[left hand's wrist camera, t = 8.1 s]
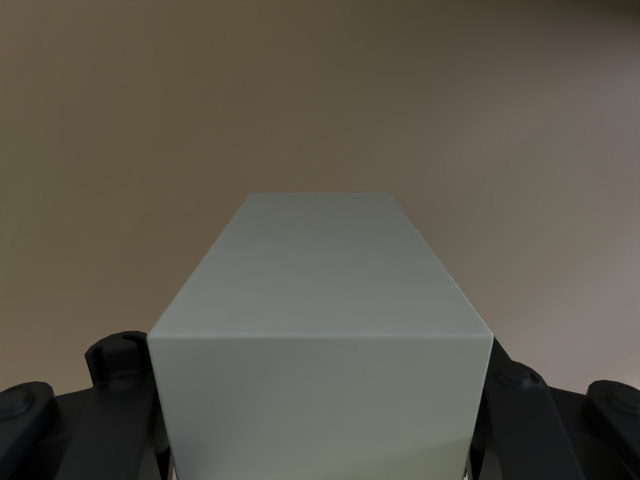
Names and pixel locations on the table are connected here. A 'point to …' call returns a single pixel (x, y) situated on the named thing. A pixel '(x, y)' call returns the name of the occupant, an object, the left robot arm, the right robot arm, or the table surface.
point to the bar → (320, 348)
